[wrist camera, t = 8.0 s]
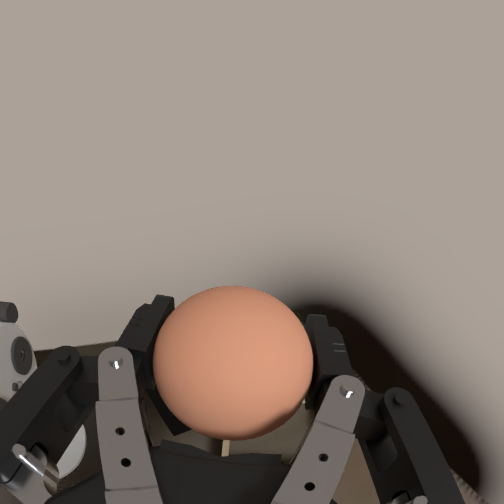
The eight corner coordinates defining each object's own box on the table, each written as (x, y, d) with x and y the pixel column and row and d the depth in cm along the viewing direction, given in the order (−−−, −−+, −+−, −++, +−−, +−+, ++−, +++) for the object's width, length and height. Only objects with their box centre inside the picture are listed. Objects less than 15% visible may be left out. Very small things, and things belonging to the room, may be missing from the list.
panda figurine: (82, 496, 14) (-5, 419, 8) (-5, 468, 12) (-92, 376, 5) (91, 403, 25) (48, 298, 18) (16, 390, 22) (-36, 290, 16)
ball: (147, 448, 9) (111, 349, 6) (178, 351, 14) (174, 249, 12) (296, 467, 9) (351, 381, 6) (290, 365, 14) (318, 267, 12)
